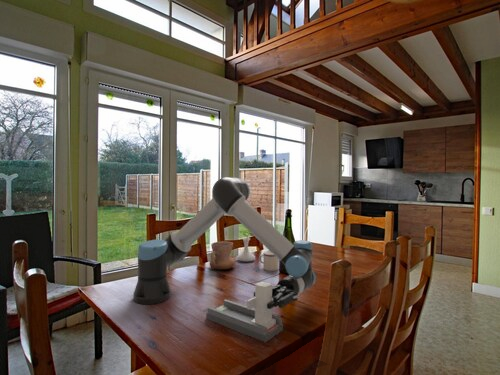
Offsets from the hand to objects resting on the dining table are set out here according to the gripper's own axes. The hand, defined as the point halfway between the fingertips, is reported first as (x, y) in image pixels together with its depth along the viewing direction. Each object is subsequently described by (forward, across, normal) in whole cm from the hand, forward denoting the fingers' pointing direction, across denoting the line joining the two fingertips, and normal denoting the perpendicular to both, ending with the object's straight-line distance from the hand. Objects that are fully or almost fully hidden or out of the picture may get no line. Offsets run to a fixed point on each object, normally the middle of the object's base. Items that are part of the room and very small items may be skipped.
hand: (254, 307), depth 93 cm
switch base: (-5, +8, -10) cm, 14 cm away
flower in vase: (-72, +58, -10) cm, 93 cm away
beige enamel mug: (-66, +38, -10) cm, 77 cm away
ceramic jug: (-50, +59, -10) cm, 78 cm away
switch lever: (-5, 0, -8) cm, 9 cm away
